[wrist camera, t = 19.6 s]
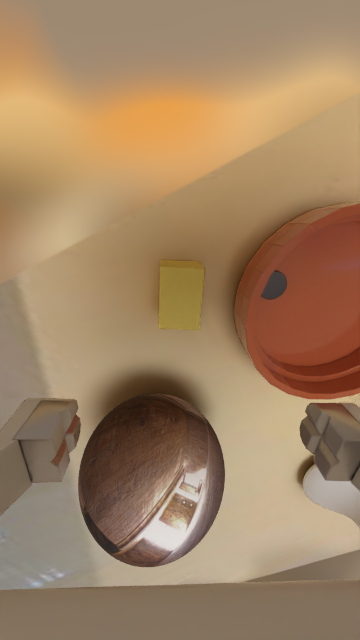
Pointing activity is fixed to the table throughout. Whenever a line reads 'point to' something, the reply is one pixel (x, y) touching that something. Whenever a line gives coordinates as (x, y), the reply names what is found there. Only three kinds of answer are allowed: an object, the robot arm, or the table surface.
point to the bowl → (306, 305)
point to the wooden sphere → (151, 480)
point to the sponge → (180, 294)
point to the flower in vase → (332, 494)
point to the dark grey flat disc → (275, 286)
